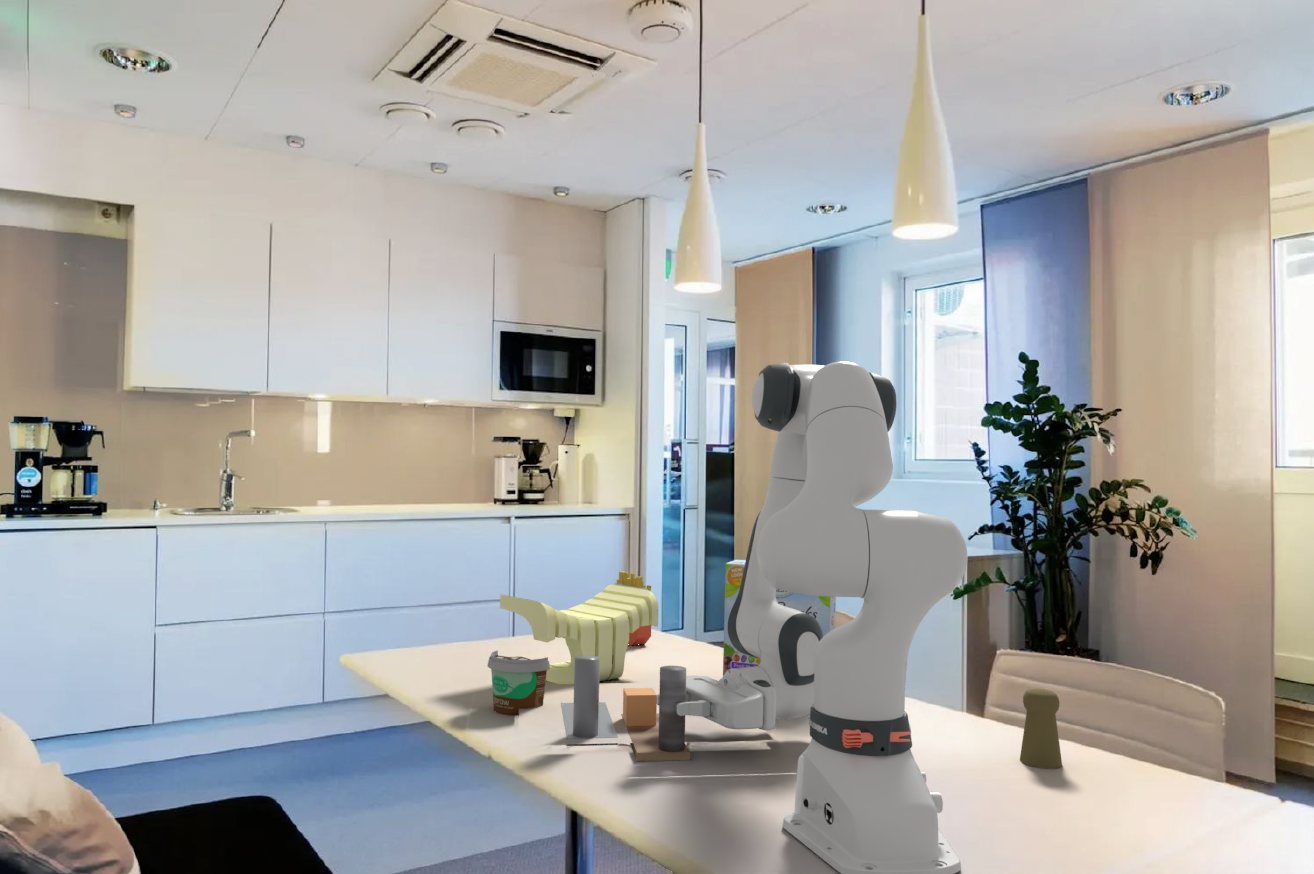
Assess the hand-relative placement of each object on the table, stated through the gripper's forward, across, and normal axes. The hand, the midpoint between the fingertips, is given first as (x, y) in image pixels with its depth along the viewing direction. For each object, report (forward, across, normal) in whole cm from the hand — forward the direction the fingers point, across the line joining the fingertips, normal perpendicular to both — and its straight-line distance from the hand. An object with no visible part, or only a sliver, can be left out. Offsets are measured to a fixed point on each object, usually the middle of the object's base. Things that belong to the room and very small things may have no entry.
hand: (667, 704), depth 137 cm
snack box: (-42, -28, +8) cm, 51 cm away
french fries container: (-38, -86, +8) cm, 94 cm away
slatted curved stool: (-10, -55, +8) cm, 56 cm away
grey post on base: (+4, -20, +8) cm, 22 cm away
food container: (+13, -34, +8) cm, 37 cm away
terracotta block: (-3, -15, +7) cm, 17 cm away
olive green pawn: (-52, +26, +8) cm, 58 cm away
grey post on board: (-3, -9, +8) cm, 12 cm away
